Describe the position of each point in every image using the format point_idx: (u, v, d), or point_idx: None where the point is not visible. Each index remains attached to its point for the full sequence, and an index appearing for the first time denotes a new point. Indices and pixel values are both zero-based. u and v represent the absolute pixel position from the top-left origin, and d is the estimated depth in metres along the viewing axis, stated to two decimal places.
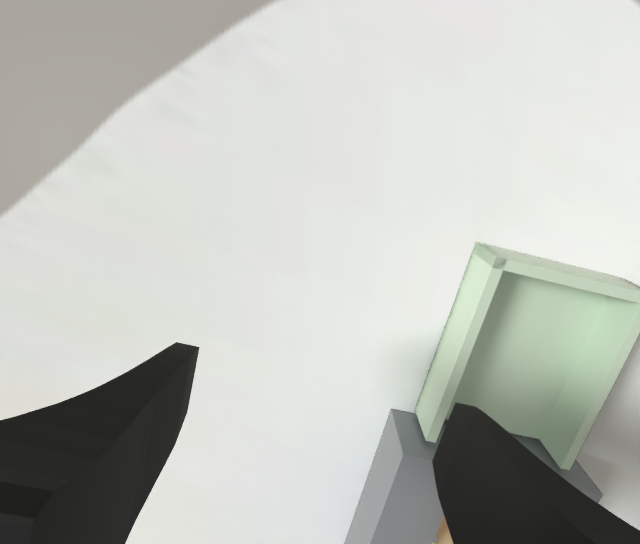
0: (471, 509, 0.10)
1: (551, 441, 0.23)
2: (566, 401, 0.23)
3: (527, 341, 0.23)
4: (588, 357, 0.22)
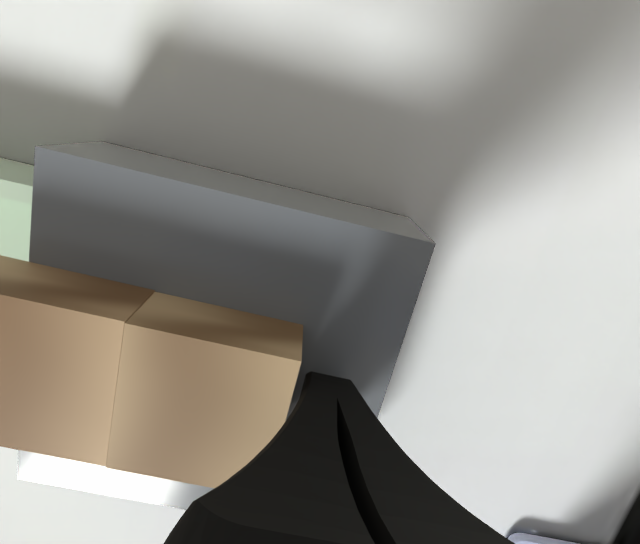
0: None
1: None
2: None
3: None
4: None
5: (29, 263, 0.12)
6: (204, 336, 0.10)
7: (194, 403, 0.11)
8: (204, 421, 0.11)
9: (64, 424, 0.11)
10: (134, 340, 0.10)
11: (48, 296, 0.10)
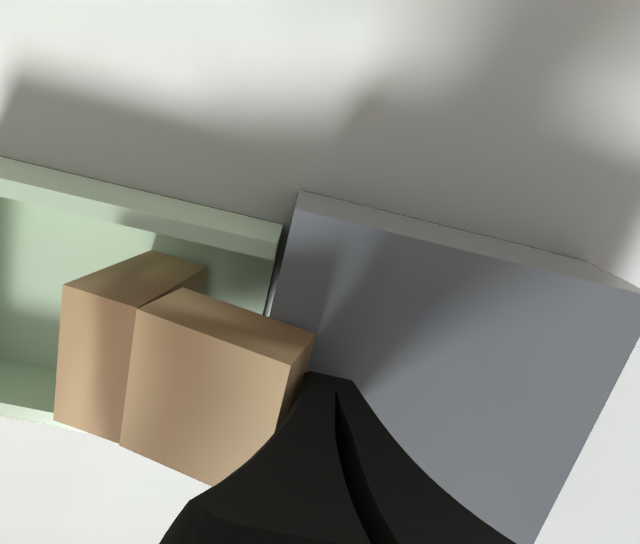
0: None
1: None
2: None
3: None
4: None
5: (193, 272, 0.14)
6: (204, 329, 0.11)
7: (192, 394, 0.11)
8: (201, 414, 0.11)
9: None
10: (144, 326, 0.11)
11: (123, 269, 0.13)
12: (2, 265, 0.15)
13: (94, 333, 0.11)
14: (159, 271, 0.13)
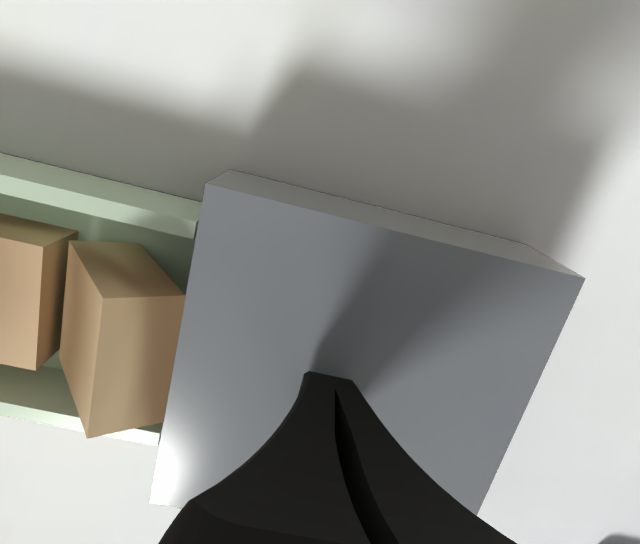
0: None
1: None
2: None
3: None
4: None
5: (14, 239, 0.13)
6: (90, 262, 0.12)
7: (77, 319, 0.13)
8: (78, 338, 0.12)
9: None
10: (70, 255, 0.13)
11: (1, 217, 0.14)
12: None
13: None
14: (6, 228, 0.13)
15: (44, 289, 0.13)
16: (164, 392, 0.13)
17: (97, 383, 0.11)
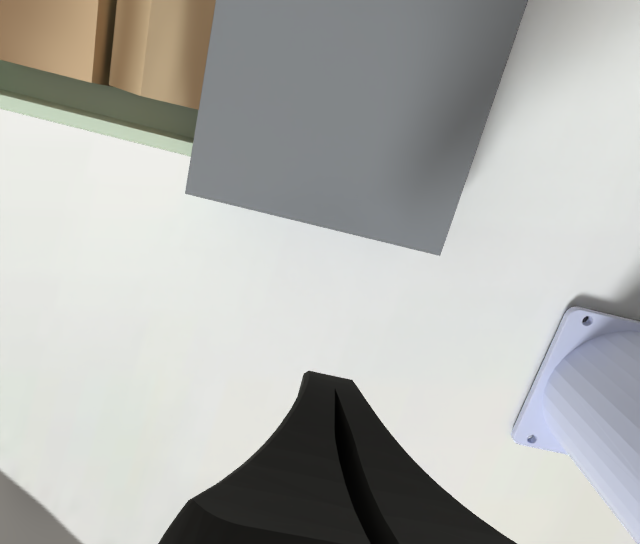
0: None
1: None
2: None
3: None
4: None
5: None
6: None
7: (129, 18, 0.16)
8: (130, 31, 0.15)
9: None
10: None
11: None
12: None
13: None
14: None
15: (100, 6, 0.16)
16: (200, 77, 0.16)
17: (149, 41, 0.14)
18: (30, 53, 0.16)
